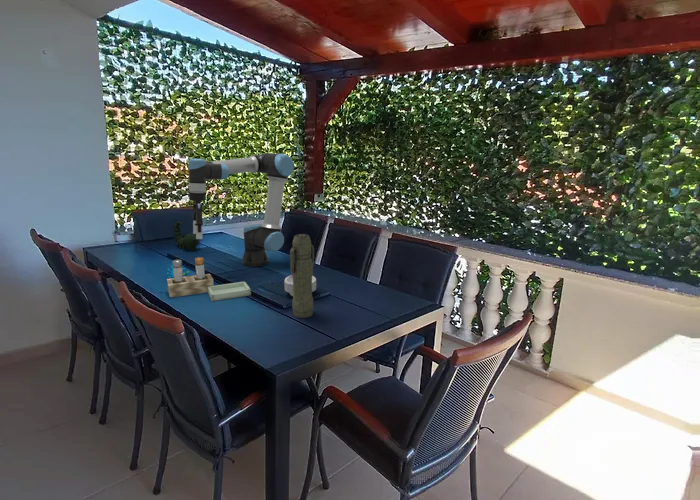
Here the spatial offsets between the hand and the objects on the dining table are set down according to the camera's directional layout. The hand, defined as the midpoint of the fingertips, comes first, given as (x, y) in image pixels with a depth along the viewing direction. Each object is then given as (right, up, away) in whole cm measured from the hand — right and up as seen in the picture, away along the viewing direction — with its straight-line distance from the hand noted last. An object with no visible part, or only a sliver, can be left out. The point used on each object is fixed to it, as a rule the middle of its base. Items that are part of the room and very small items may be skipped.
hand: (197, 236), depth 203 cm
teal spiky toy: (-16, -23, +17) cm, 32 cm away
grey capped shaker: (-8, -27, 0) cm, 28 cm away
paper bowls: (+50, -28, 0) cm, 57 cm away
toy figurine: (-34, -6, +74) cm, 81 cm away
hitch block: (-4, -27, +2) cm, 27 cm away
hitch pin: (+1, -26, +4) cm, 26 cm away
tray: (+16, -28, -1) cm, 32 cm away
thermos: (+53, -34, -22) cm, 67 cm away
